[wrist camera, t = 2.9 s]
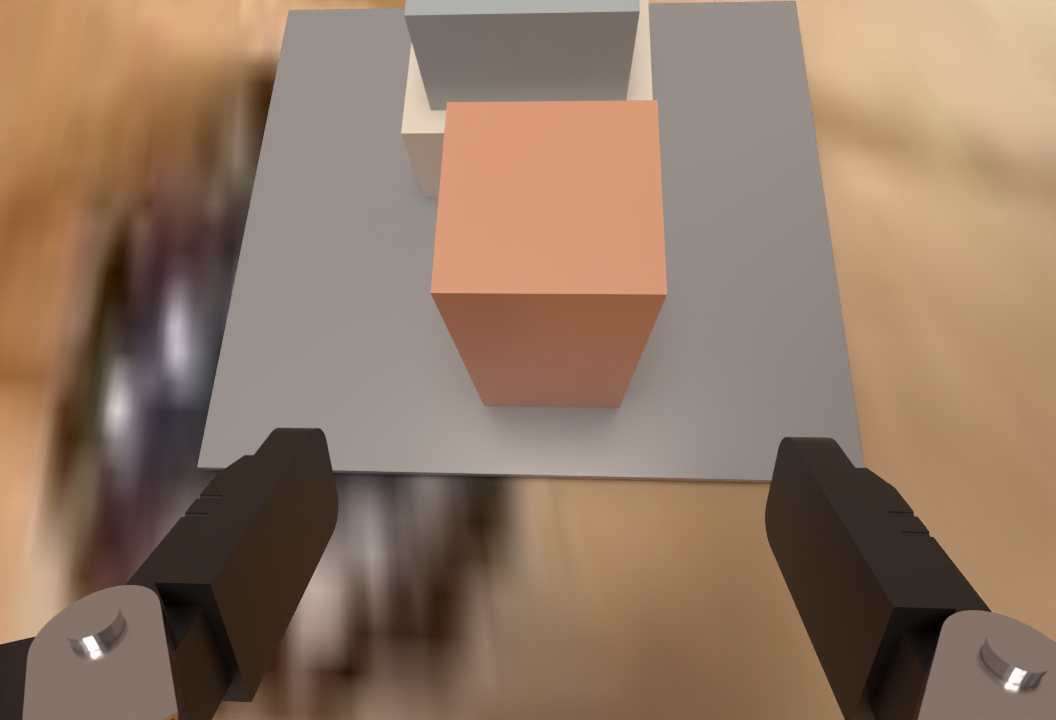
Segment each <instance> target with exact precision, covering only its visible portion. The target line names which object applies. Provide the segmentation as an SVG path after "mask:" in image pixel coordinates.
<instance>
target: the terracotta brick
mask: <svg viewBox="0 0 1056 720" xmlns="http://www.w3.org/2000/svg"><path fill="white" fill-rule="evenodd" d="M430 293H431V295H432V297H433V299H434V302H435V304H436V306H437V308H438V310H439V312H440V314H441V316H442V318H443V320H444V323H445V325H446V327H447V329H448V331H449V333H450V335H451V337H452V339H453V341H454V343H455V346H456V348H457V350H458V352H459V354H460V356H461V358H462V360H463V362H464V364H465V367H466V369H467V371H468V373H469V375H470V377H471V379H472V381H473V383H474V385H475V388H476V390H477V392H478V394H479V396H480V398H481V400H482V402H483V404H484V406H520V407H580V408H620V405H621V403H622V401H623V398H624V396H625V393H626V391H627V389H628V386H629V384H630V382H631V379H632V377H633V374H634V372H635V370H636V367H637V365H638V363H639V360H640V358H641V356H642V353H643V351H644V348H645V346H646V344H647V341H648V339H649V337H650V334H651V332H652V329H653V327H654V325H655V322H656V320H657V318H658V315H659V313H660V311H661V308H662V306H663V303H664V301H665V299H666V296H667V280H666V260H665V239H664V219H663V199H662V179H661V158H660V138H659V118H658V100H628V101H527V102H447V108H446V119H445V131H444V142H443V154H442V165H441V177H440V189H439V200H438V212H437V223H436V235H435V246H434V258H433V269H432V281H431V292H430Z"/></svg>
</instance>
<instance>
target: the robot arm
mask: <svg viewBox="0 0 1056 720" xmlns="http://www.w3.org/2000/svg"><path fill="white" fill-rule="evenodd" d="M913 513H914V512H913V510H912V509H911V508H910V507H909V505H908V504H907V503H906V501H905V500H904V499H903V498H902V496H901V495H900V494H899V492H898V491H897V490H896V489H895V488H894V487H893V486H891V485H890V484H889V483H887V482H886V481H884V480H883V479H882V478H880V477H879V476H877V475H876V474H875V473H873V472H872V471H870V470H869V469H868V468H855V467H854V465H853V464H852V462H851V461H850V460H849V458H848V457H847V455H846V454H845V453H844V451H843V450H842V448H841V447H840V446H839V444H838V443H837V442H836V441H835V440H834V439H833V438H826V437H785V438H783V439H782V441H781V442H780V445H779V448H778V452H777V457H776V462H775V467H774V471H773V476H772V481H771V485H770V490H769V495H768V500H767V504H766V511H765V525H766V532H767V537H768V541H769V544H770V547H771V549H772V551H773V554H774V556H775V558H776V561H777V563H778V565H779V567H780V570H781V572H782V574H783V577H784V579H785V581H786V584H787V586H788V588H789V591H790V593H791V595H792V598H793V600H794V602H795V605H796V607H797V609H798V612H799V614H800V616H801V619H802V621H803V623H804V626H805V628H806V630H807V633H808V635H809V637H810V640H811V642H812V644H813V647H814V649H815V651H816V653H817V656H818V658H819V660H820V663H821V665H822V667H823V670H824V672H825V674H826V677H827V679H828V681H829V684H830V686H831V688H832V691H833V693H834V695H835V698H836V700H837V702H838V705H839V707H840V709H841V712H842V714H843V716H844V719H845V720H1056V643H1055V642H1053V641H1052V640H1050V639H1049V638H1048V637H1046V636H1045V635H1043V634H1042V633H1040V632H1038V631H1037V630H1035V629H1033V628H1031V627H1030V626H1028V625H1026V624H1023V623H1021V622H1019V621H1017V620H1014V619H1012V618H1009V617H1007V616H1003V615H1000V614H996V613H992V612H991V610H990V609H989V608H988V607H987V605H986V604H985V603H984V601H983V600H982V599H981V598H980V596H979V595H978V594H977V592H976V591H975V590H974V589H973V587H972V586H971V585H970V583H969V582H968V581H967V580H966V578H965V577H964V576H963V574H962V573H961V572H960V571H959V569H958V568H957V567H956V565H955V564H954V563H953V562H952V560H951V559H950V558H949V557H948V555H947V554H946V553H945V551H944V550H943V549H942V548H941V546H940V545H939V544H938V542H937V541H936V540H935V539H934V537H930V536H929V531H928V530H927V528H926V527H925V526H924V524H923V523H922V522H921V521H920V519H919V518H918V517H914V514H913ZM337 516H338V495H337V490H336V485H335V480H334V475H333V470H332V465H331V460H330V455H329V450H328V445H327V440H326V436H325V434H324V432H323V431H322V430H321V429H320V428H276V429H274V430H273V431H272V432H271V433H270V435H269V436H268V437H267V439H266V440H265V441H264V442H263V444H262V445H261V446H260V448H259V449H258V450H257V451H256V453H255V454H254V455H244V456H243V457H241V458H240V459H238V460H237V461H235V462H234V463H232V464H231V465H229V466H228V467H226V468H225V469H223V470H222V471H220V472H219V473H218V474H217V475H216V476H215V477H214V479H213V480H212V481H211V482H210V483H209V485H208V486H207V487H206V488H205V489H204V491H203V492H202V493H201V494H200V499H196V500H195V501H194V503H193V504H192V505H191V506H190V507H189V509H188V510H187V511H186V512H185V517H181V518H180V520H179V521H178V522H177V523H176V524H175V526H174V527H173V528H172V529H171V530H170V532H169V533H168V534H167V535H166V536H165V538H164V539H163V540H162V541H161V542H160V544H159V545H158V546H157V547H156V548H155V550H154V551H153V552H152V553H151V554H150V556H149V557H148V558H147V559H146V560H145V562H144V563H143V564H142V565H141V567H140V568H139V569H138V570H137V571H136V573H135V574H134V575H133V576H132V577H131V579H130V580H129V581H128V582H127V583H126V585H123V586H116V587H111V588H107V589H104V590H101V591H98V592H95V593H93V594H90V595H88V596H86V597H84V598H82V599H80V600H78V601H76V602H74V603H73V604H71V605H70V606H68V607H67V608H65V609H63V610H62V611H61V612H60V613H58V614H57V615H56V616H54V617H53V618H52V619H51V620H50V621H49V622H48V623H47V624H46V625H45V626H44V627H43V628H42V629H41V630H40V632H39V633H38V634H37V636H36V637H32V638H27V639H23V640H19V641H14V642H10V643H5V644H1V645H0V720H212V718H213V716H214V714H215V712H216V710H217V709H218V707H219V705H220V703H221V701H239V702H252V700H253V698H254V696H255V694H256V692H257V689H258V687H259V685H260V683H261V681H262V679H263V677H264V675H265V673H266V671H267V669H268V667H269V665H270V662H271V660H272V658H273V656H274V654H275V652H276V650H277V648H278V646H279V644H280V642H281V640H282V638H283V636H284V633H285V631H286V629H287V627H288V625H289V623H290V621H291V619H292V617H293V615H294V613H295V611H296V609H297V606H298V604H299V602H300V600H301V598H302V596H303V594H304V592H305V590H306V588H307V586H308V584H309V582H310V579H311V577H312V575H313V573H314V571H315V569H316V567H317V565H318V563H319V561H320V559H321V557H322V555H323V553H324V550H325V548H326V546H327V544H328V542H329V540H330V538H331V536H332V534H333V532H334V529H335V526H336V522H337Z"/></svg>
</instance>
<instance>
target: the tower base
mask: <svg viewBox="0 0 1056 720" xmlns="http://www.w3.org/2000/svg"><path fill="white" fill-rule="evenodd" d="M404 17H405V20H406V24H407V27H408V31H409V34H410V38H411V51H410V59H409V68H408V77H407V86H406V94H405V103H404V112H403V121H402V130H401V135H402V137H403V140H404V143H405V146H406V148H407V151H408V154H409V157H410V159H411V162H412V165H413V167H414V170H415V173H416V176H417V178H418V181H419V184H420V187H421V189H422V192H423V195H424V197H439V189H440V177H441V165H442V154H443V142H444V131H445V119H446V108H447V102H527V101H628V100H653V93H652V71H651V50H650V28H649V7H648V0H406V5H405V13H404Z"/></svg>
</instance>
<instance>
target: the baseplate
mask: <svg viewBox="0 0 1056 720" xmlns="http://www.w3.org/2000/svg"><path fill="white" fill-rule="evenodd" d="M648 7H649V28H650V50H651V71H652V93H653V100H658V118H659V138H660V158H661V179H662V199H663V219H664V239H665V260H666V280H667V296H666V299H665V301H664V303H663V306H662V308H661V311H660V313H659V315H658V318H657V320H656V322H655V325H654V327H653V329H652V332H651V334H650V337H649V339H648V341H647V344H646V346H645V348H644V351H643V353H642V356H641V358H640V360H639V363H638V365H637V367H636V370H635V372H634V374H633V377H632V379H631V382H630V384H629V386H628V389H627V391H626V393H625V396H624V398H623V401H622V403H621V405H620V408H580V407H520V406H484V404H483V402H482V400H481V398H480V396H479V394H478V392H477V390H476V388H475V385H474V383H473V381H472V379H471V377H470V375H469V373H468V371H467V369H466V367H465V364H464V362H463V360H462V358H461V356H460V354H459V352H458V350H457V348H456V346H455V343H454V341H453V339H452V337H451V335H450V333H449V331H448V329H447V327H446V325H445V323H444V320H443V318H442V316H441V314H440V312H439V310H438V308H437V306H436V304H435V302H434V299H433V297H432V295H431V293H430V292H431V281H432V269H433V258H434V246H435V235H436V223H437V212H438V200H439V197H424V195H423V192H422V189H421V187H420V184H419V181H418V178H417V176H416V173H415V170H414V167H413V165H412V162H411V159H410V157H409V154H408V151H407V148H406V146H405V143H404V140H403V137H402V135H401V130H402V121H403V112H404V103H405V94H406V86H407V77H408V68H409V59H410V51H411V38H410V34H409V31H408V27H407V24H406V20H405V17H404V13H405V8H385V9H331V10H289V13H288V18H287V23H286V28H285V33H284V38H283V43H282V48H281V53H280V58H279V63H278V68H277V73H276V78H275V83H274V88H273V93H272V98H271V103H270V108H269V113H268V118H267V123H266V127H265V132H264V137H263V142H262V147H261V152H260V157H259V162H258V167H257V172H256V177H255V182H254V187H253V192H252V197H251V202H250V207H249V212H248V217H247V222H246V227H245V232H244V237H243V242H242V247H241V252H240V257H239V262H238V267H237V272H236V277H235V282H234V287H233V292H232V297H231V302H230V307H229V312H228V317H227V322H226V327H225V332H224V337H223V342H222V347H221V352H220V357H219V362H218V367H217V372H216V377H215V382H214V387H213V392H212V397H211V402H210V407H209V412H208V417H207V422H206V427H205V432H204V437H203V442H202V447H201V451H200V456H199V461H198V466H197V467H198V468H202V469H206V470H219V471H222V470H223V469H225V468H226V467H228V466H229V465H231V464H232V463H234V462H235V461H237V460H238V459H240V458H241V457H243V456H244V455H254V454H255V453H256V451H257V450H258V449H259V448H260V446H261V445H262V444H263V442H264V441H265V440H266V439H267V437H268V436H269V435H270V433H271V432H272V431H273V430H274V429H276V428H320V429H321V430H322V431H323V432H324V434H325V436H326V440H327V445H328V450H329V455H330V460H331V465H332V470H333V473H352V474H396V475H440V476H484V477H528V478H572V479H616V480H661V481H705V482H749V483H771V481H772V476H773V471H774V467H775V462H776V457H777V452H778V448H779V445H780V442H781V441H782V439H783V438H785V437H826V438H833V439H834V440H835V441H836V442H837V443H838V444H839V446H840V447H841V448H842V450H843V451H844V453H845V454H846V455H847V457H848V458H849V460H850V461H851V462H852V464H853V465H854V467H855V468H865V467H864V460H863V453H862V447H861V440H860V433H859V426H858V420H857V413H856V406H855V399H854V393H853V386H852V379H851V372H850V366H849V359H848V352H847V345H846V339H845V332H844V325H843V318H842V312H841V305H840V298H839V291H838V284H837V278H836V271H835V264H834V257H833V251H832V244H831V237H830V230H829V224H828V217H827V210H826V203H825V197H824V190H823V183H822V176H821V170H820V163H819V156H818V149H817V143H816V136H815V129H814V122H813V116H812V109H811V102H810V95H809V88H808V82H807V75H806V68H805V61H804V55H803V48H802V41H801V34H800V28H799V21H798V14H797V7H796V1H768V2H714V3H659V4H648Z"/></svg>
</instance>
